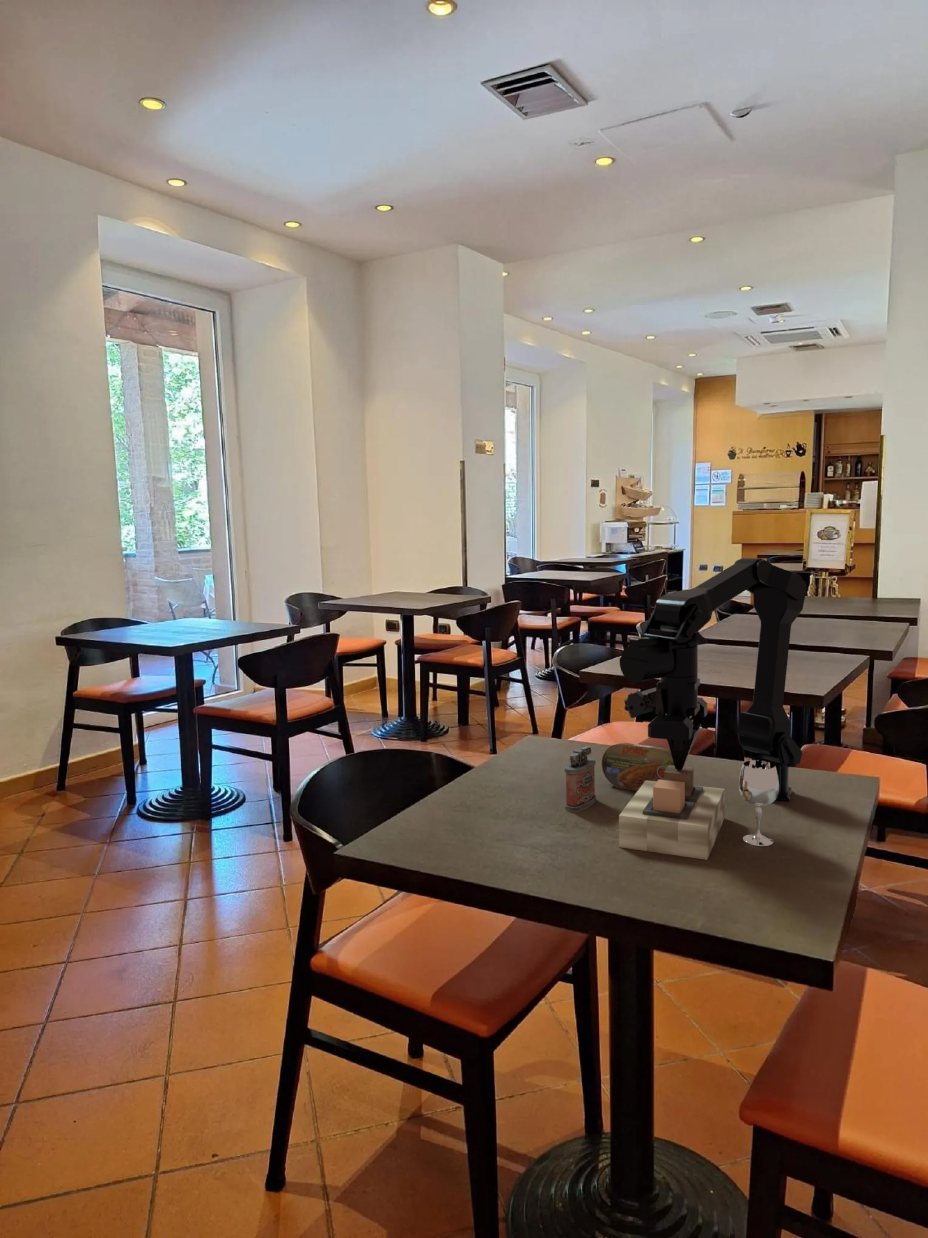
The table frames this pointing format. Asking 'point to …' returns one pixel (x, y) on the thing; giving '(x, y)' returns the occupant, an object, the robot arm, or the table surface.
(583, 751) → the lighter
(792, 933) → the table surface
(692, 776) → the peg
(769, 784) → the wineglass
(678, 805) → the peg
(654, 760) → the tin
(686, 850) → the board
